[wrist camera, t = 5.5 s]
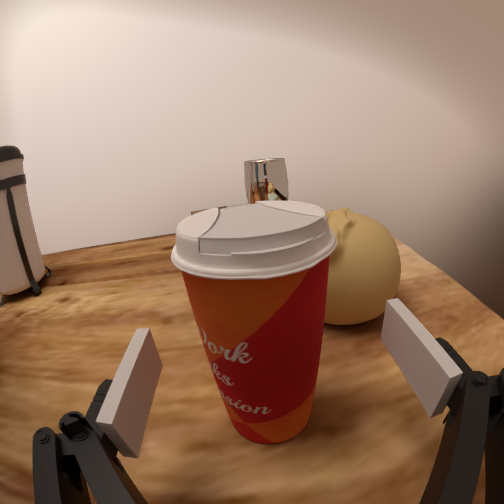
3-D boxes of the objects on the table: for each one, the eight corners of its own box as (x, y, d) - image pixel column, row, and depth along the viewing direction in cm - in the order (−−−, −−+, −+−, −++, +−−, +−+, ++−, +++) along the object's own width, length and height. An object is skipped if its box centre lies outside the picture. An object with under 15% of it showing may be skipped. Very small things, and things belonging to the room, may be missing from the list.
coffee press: (71, 277, 46) (41, 118, 35) (6, 315, 32) (-36, 135, 22) (39, 267, 53) (14, 142, 42) (-13, 296, 39) (-44, 158, 29)
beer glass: (256, 241, 54) (247, 160, 48) (293, 240, 52) (287, 157, 47) (248, 255, 47) (238, 163, 42) (290, 254, 46) (283, 159, 40)
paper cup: (209, 389, 21) (168, 212, 16) (301, 366, 22) (295, 193, 17) (229, 471, 13) (161, 260, 8) (344, 435, 15) (375, 222, 10)
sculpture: (294, 282, 37) (290, 199, 33) (386, 283, 33) (391, 198, 29) (277, 337, 26) (269, 227, 23) (402, 339, 23) (419, 227, 19)
